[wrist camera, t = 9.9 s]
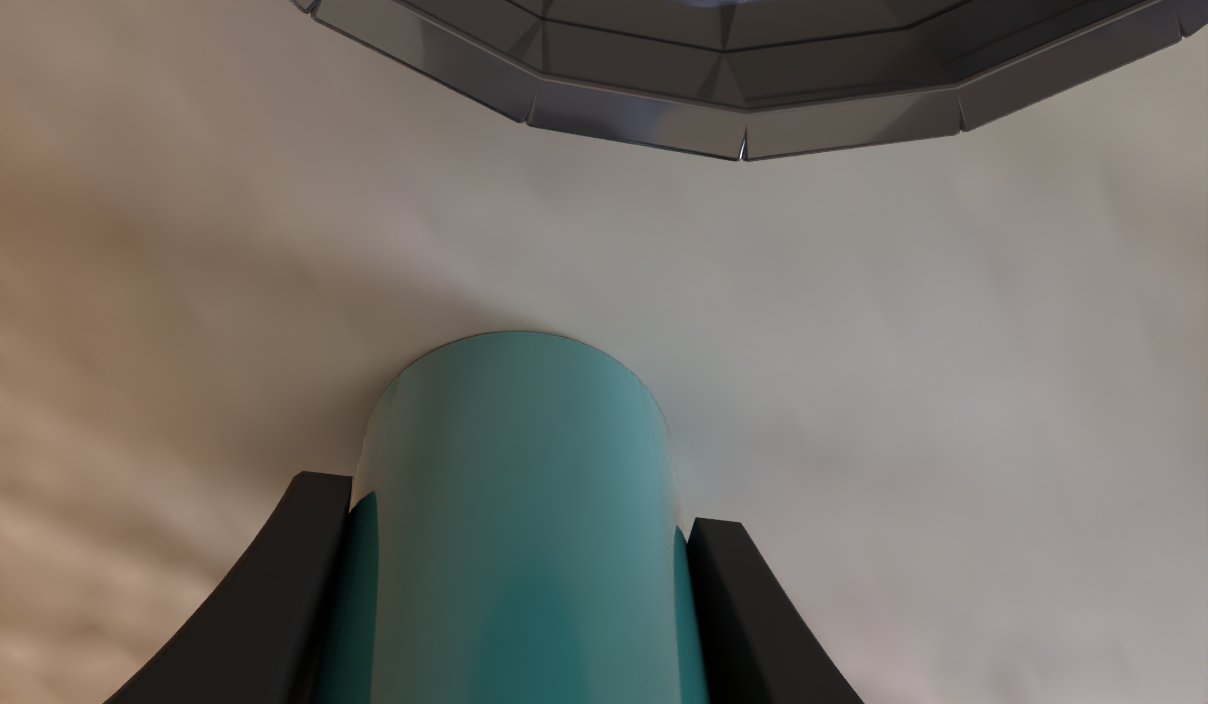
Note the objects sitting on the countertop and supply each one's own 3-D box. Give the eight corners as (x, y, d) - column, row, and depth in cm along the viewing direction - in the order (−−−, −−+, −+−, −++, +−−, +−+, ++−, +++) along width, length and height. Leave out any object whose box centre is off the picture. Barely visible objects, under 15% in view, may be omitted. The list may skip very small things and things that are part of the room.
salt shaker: (702, 353, 15) (818, 866, 9) (634, 582, 17) (689, 1118, 11) (377, 307, 14) (256, 826, 8) (352, 553, 17) (242, 1102, 10)
